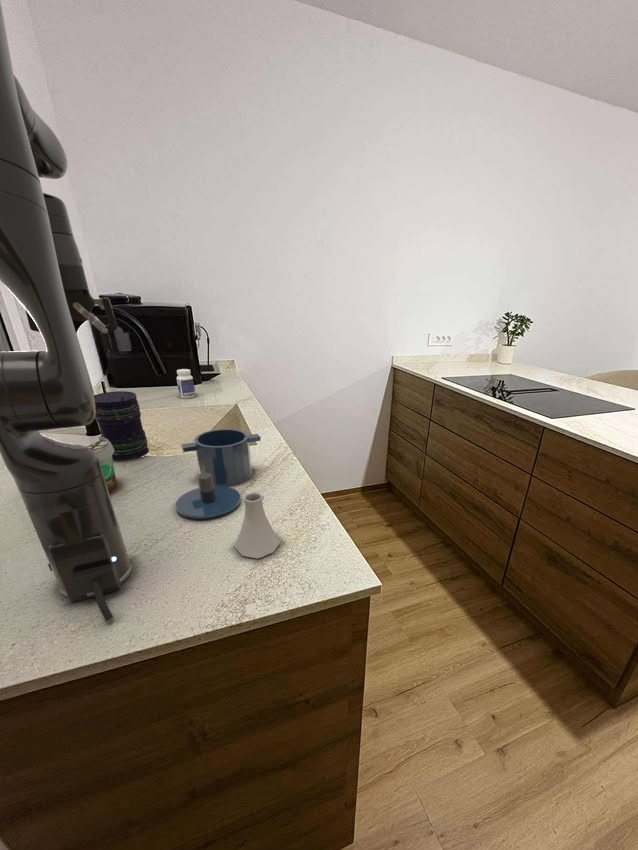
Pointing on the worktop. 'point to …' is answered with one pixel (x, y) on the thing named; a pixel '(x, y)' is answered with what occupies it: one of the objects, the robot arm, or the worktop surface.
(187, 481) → the worktop surface
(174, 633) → the worktop surface
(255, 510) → the flask
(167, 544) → the worktop surface
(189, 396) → the pill bottle
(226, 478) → the two-handled cooking pot
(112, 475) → the food container
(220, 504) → the pot lid
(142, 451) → the storage jar
